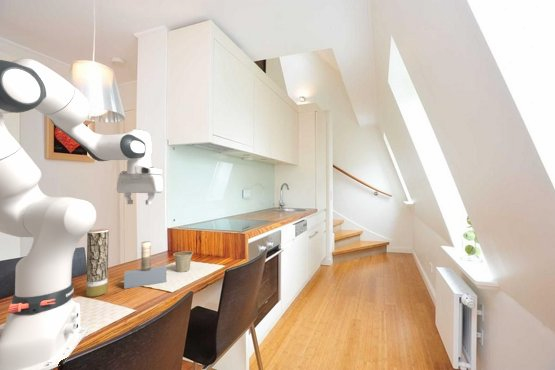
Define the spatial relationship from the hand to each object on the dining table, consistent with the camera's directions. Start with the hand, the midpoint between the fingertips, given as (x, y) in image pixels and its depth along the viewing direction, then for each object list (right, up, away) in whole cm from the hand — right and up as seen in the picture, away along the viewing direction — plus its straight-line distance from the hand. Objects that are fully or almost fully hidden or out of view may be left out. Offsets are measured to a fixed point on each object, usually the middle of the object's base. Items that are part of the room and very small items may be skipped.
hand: (139, 204), depth 101 cm
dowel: (-1, -29, +8) cm, 30 cm away
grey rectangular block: (-1, -35, +8) cm, 36 cm away
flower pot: (+8, -36, +26) cm, 45 cm away
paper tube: (-15, -35, -3) cm, 38 cm away
